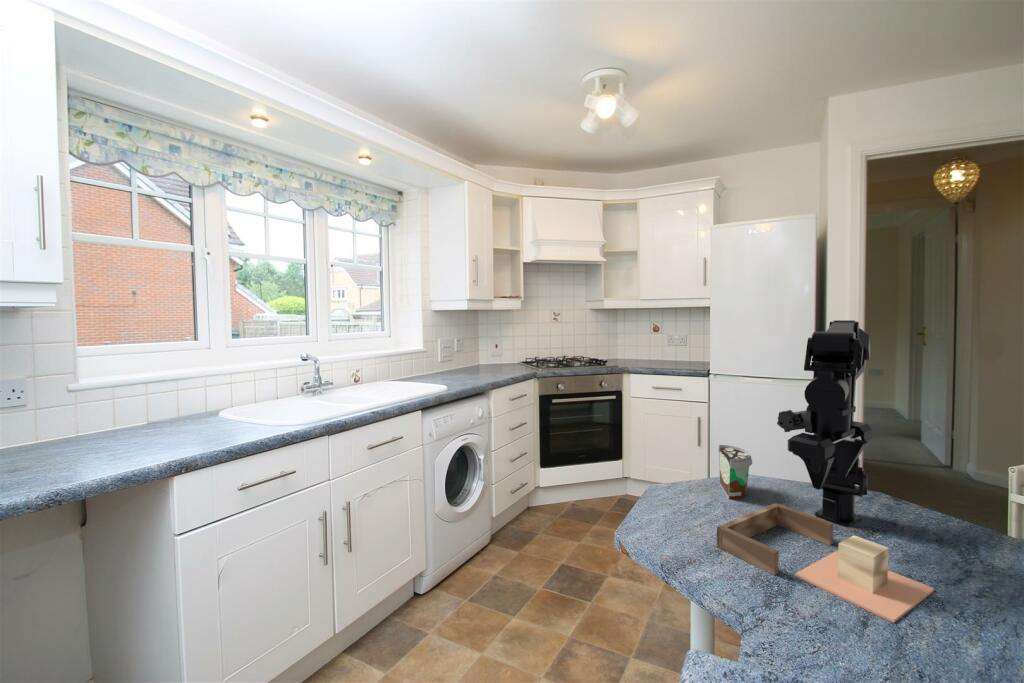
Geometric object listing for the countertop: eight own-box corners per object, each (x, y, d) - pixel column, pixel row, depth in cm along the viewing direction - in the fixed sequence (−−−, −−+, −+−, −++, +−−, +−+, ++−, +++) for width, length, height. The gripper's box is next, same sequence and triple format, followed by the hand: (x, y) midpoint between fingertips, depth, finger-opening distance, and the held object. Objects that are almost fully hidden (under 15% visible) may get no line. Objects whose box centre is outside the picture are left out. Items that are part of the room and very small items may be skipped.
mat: (837, 552, 87) (837, 550, 87) (933, 590, 75) (934, 588, 75) (794, 576, 80) (794, 573, 80) (893, 622, 68) (893, 620, 68)
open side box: (775, 521, 100) (775, 502, 100) (833, 543, 90) (833, 523, 90) (716, 547, 90) (716, 526, 90) (774, 575, 81) (774, 552, 80)
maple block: (852, 568, 81) (853, 535, 81) (887, 583, 77) (888, 547, 76) (837, 578, 79) (838, 543, 78) (872, 593, 74) (873, 557, 74)
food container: (758, 503, 109) (759, 460, 108) (730, 501, 110) (730, 459, 109) (744, 483, 121) (744, 444, 120) (718, 481, 122) (718, 444, 121)
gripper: (811, 386, 98) (810, 459, 99) (759, 400, 88) (758, 481, 90) (874, 395, 88) (872, 475, 90) (824, 412, 79) (822, 501, 80)
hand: (829, 482), depth 88 cm, fingers open, 9 cm apart
